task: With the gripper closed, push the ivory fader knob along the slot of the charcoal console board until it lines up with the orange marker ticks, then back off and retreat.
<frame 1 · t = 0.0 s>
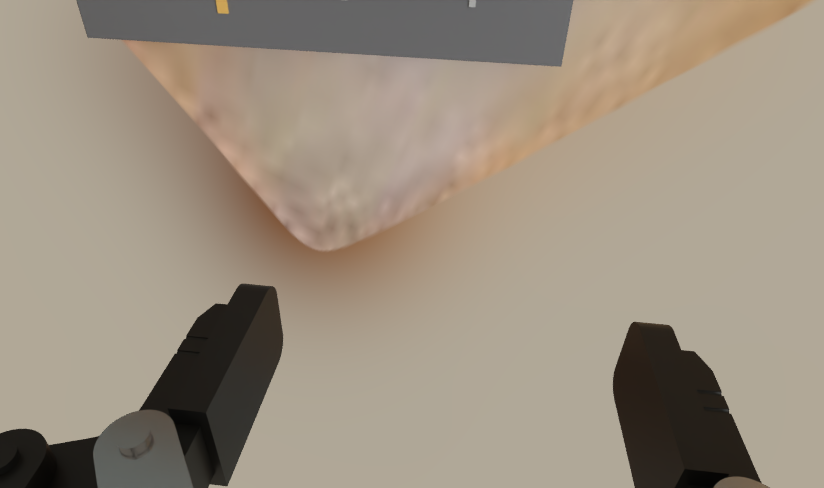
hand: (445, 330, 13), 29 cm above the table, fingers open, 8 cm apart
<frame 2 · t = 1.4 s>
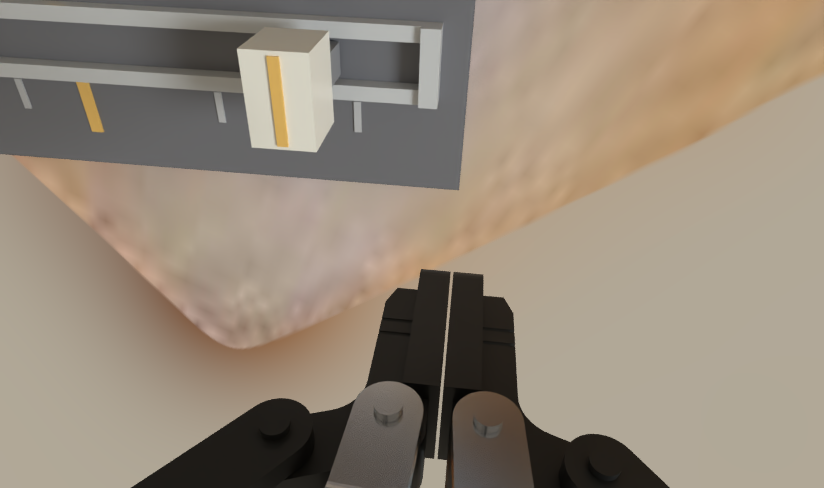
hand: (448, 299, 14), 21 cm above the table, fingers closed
console: (190, 36, 32), on the table
fader: (299, 77, 27), point 6 cm above the table, slide at 8.0 cm
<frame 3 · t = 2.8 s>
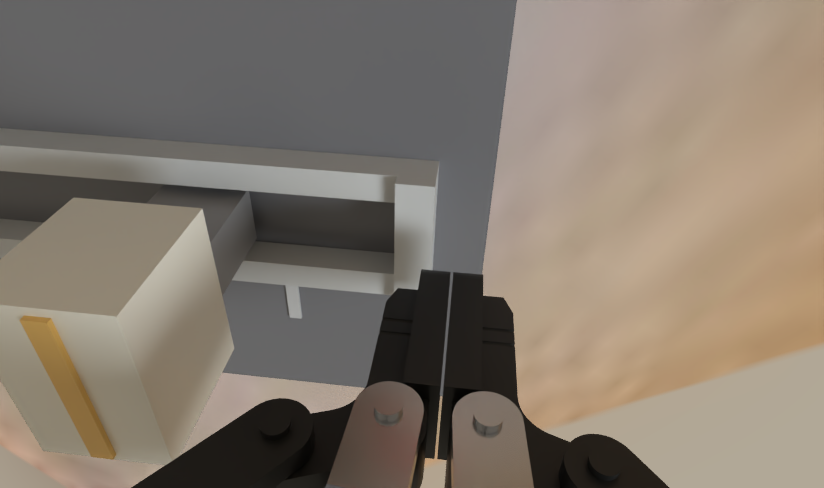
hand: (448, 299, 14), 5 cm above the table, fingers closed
console: (10, 155, 19), on the table
fader: (156, 284, 13), point 6 cm above the table, slide at 8.0 cm
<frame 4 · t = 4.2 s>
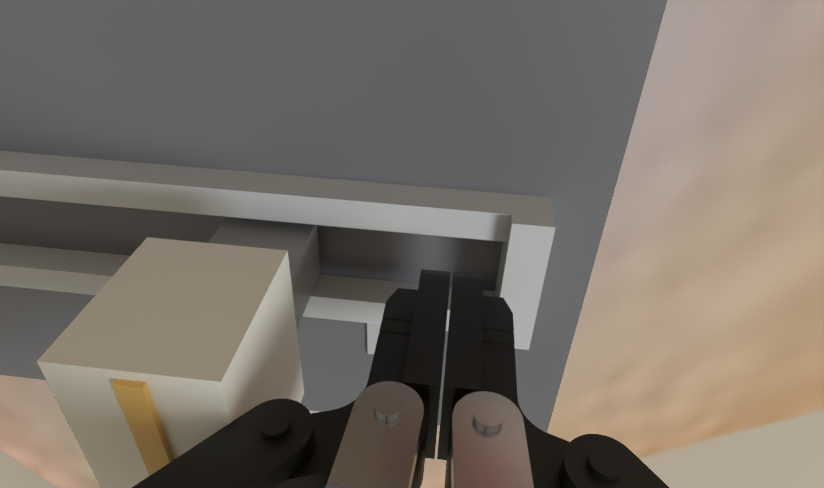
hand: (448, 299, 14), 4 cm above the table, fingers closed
console: (74, 181, 18), on the table
fader: (229, 328, 13), point 6 cm above the table, slide at 7.3 cm, touching hand
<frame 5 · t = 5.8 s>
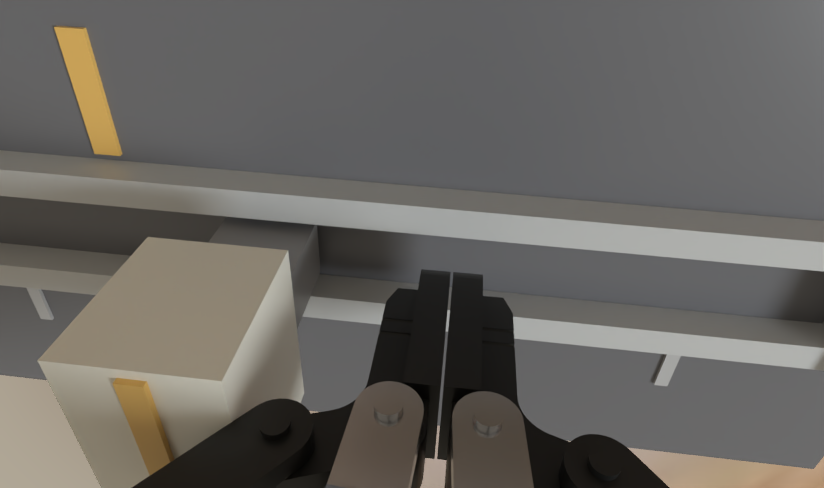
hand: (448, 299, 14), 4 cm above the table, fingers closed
console: (351, 205, 17), on the table
fader: (229, 328, 13), point 6 cm above the table, slide at -1.7 cm, touching hand
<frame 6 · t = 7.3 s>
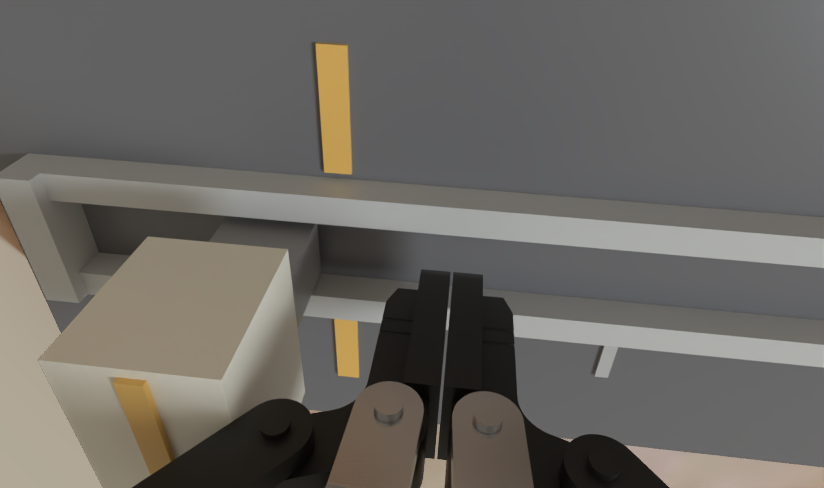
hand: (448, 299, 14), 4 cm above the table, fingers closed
console: (553, 221, 17), on the table
fader: (230, 327, 13), point 6 cm above the table, slide at -7.8 cm, touching hand
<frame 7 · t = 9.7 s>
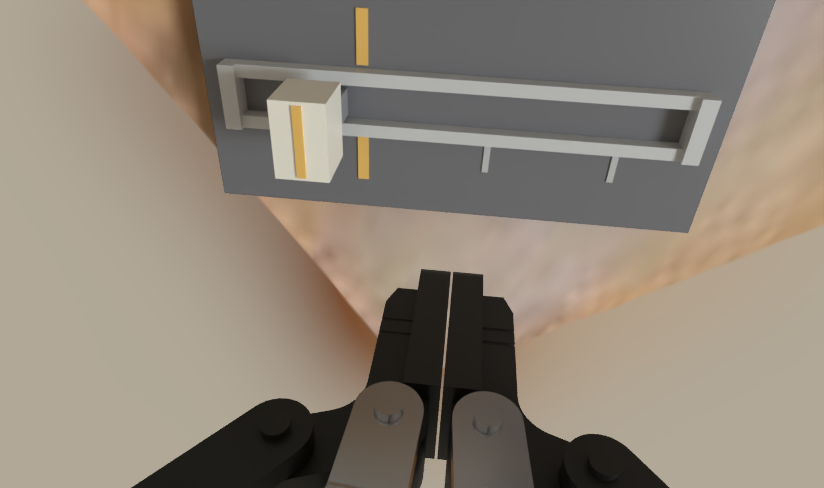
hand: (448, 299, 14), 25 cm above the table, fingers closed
console: (460, 96, 36), on the table
fader: (315, 119, 32), point 6 cm above the table, slide at -8.1 cm
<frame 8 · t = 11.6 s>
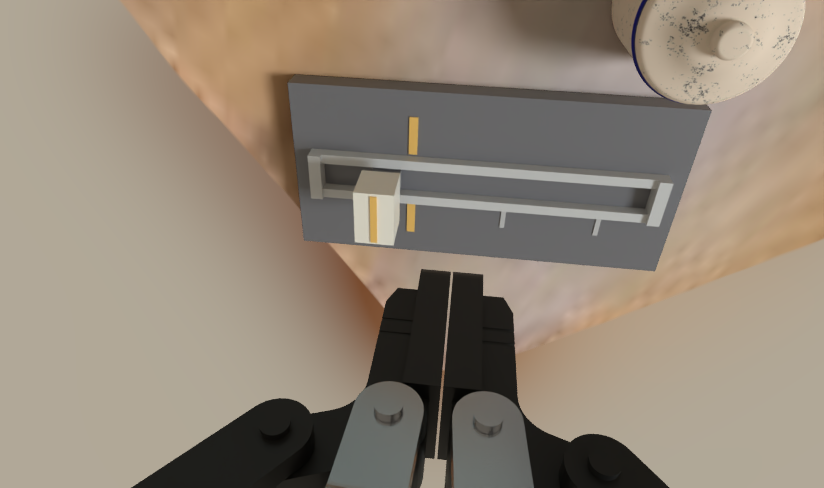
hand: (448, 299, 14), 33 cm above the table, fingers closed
console: (483, 172, 48), on the table
fader: (380, 197, 44), point 6 cm above the table, slide at -8.1 cm
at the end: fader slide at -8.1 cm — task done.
